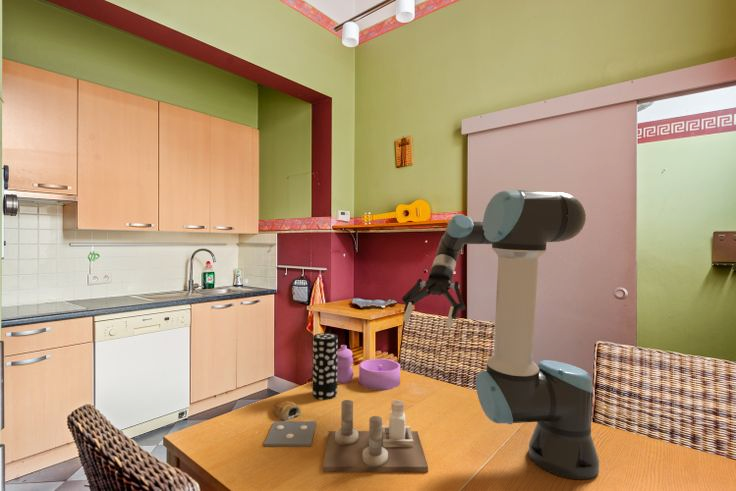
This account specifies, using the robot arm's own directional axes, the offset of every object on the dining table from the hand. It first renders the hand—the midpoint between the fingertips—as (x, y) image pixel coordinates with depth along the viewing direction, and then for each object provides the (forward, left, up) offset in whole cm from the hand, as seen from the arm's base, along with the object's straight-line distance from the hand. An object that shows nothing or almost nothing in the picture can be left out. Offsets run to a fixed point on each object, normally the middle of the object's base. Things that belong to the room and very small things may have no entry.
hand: (426, 324), depth 114 cm
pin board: (+1, +26, -28) cm, 38 cm away
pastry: (+34, +24, -28) cm, 51 cm away
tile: (+24, +32, -28) cm, 48 cm away
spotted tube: (+34, +7, -28) cm, 45 cm away
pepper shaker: (-1, +19, -27) cm, 33 cm away
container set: (+30, -12, -28) cm, 43 cm away
